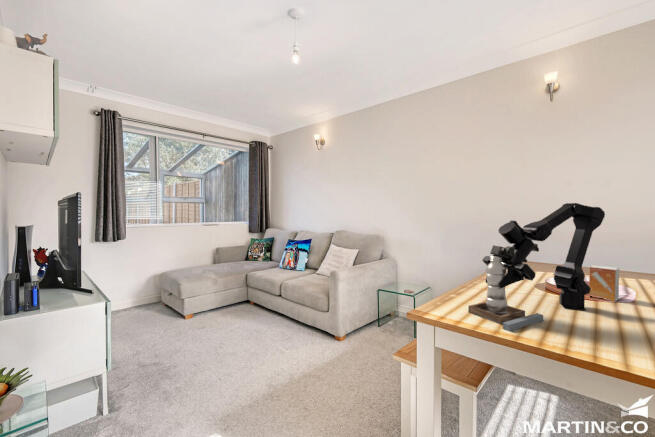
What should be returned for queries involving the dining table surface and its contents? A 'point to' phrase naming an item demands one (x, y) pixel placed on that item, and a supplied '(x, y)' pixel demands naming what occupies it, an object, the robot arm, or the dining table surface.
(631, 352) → the dining table surface
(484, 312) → the brown square tray
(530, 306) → the dining table surface
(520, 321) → the door edge strip
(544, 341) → the dining table surface
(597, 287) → the small box
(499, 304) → the plastic bottle
